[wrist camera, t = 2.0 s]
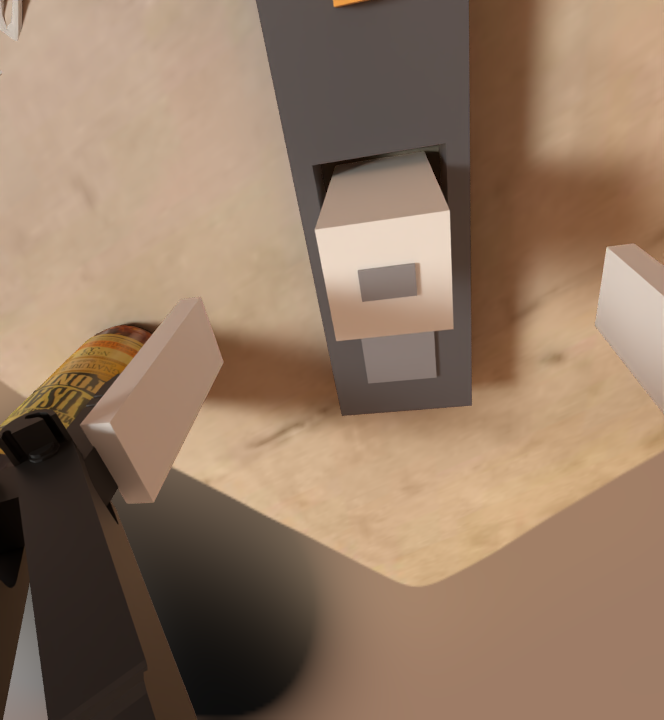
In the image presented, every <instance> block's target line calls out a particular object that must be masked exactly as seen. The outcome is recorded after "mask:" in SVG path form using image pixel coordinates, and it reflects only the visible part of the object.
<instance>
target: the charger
mask: <svg viewBox="0 0 664 720" xmlns="http://www.w3.org/2000/svg"><path fill="white" fill-rule="evenodd" d="M315 234H316V239H317V244H318V249H319V255H320V260H321V265H322V270H323V275H324V280H325V286H326V291H327V296H328V301H329V306H330V311H331V317H332V322H333V327H334V332H335V337H336V341H343V340H353V339H363V338H372V337H382V336H391V335H401V334H411V333H420V332H430V331H439V330H449V329H454V328H453V297H452V265H451V233H450V210H449V207H448V205H447V203H446V201H445V198H444V196H443V194H442V191H441V189H440V187H439V184H438V182H437V180H436V177H435V175H434V173H433V171H432V168H431V166H430V164H429V161H428V159H427V157H426V154H425V152H424V151H420V152H414V153H408V154H402V155H396V156H390V157H384V158H378V159H372V160H366V161H359V162H353V163H347V164H341V165H336V166H335V169H334V172H333V175H332V178H331V181H330V184H329V187H328V190H327V193H326V197H325V200H324V203H323V206H322V209H321V212H320V215H319V218H318V221H317V224H316V227H315Z"/></svg>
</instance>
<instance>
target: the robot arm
mask: <svg viewBox="0 0 664 720" xmlns="http://www.w3.org/2000/svg"><path fill="white" fill-rule="evenodd" d="M595 327H596V328H597V329H598V331H599V332H600V333H601V334H602V336H603V337H604V338H605V340H606V341H607V342H608V343H609V345H610V346H611V347H612V349H613V350H614V351H615V352H616V354H617V355H618V356H619V357H620V359H621V360H622V361H623V363H624V364H625V365H626V366H627V368H628V369H629V370H630V372H631V373H632V374H633V375H634V377H635V378H636V379H637V381H638V382H639V383H640V384H641V386H642V387H643V388H644V390H645V391H646V392H647V393H648V395H649V396H650V397H651V399H652V400H653V401H654V402H655V404H656V405H657V406H658V408H659V409H660V410H661V411H662V413H663V414H664V266H663V265H662V264H661V263H659V262H658V261H657V260H656V259H654V258H653V257H652V256H650V255H649V254H648V253H646V252H645V251H644V250H642V249H641V248H640V247H638V246H637V245H636V244H634V243H632V244H624V245H616V246H608V247H607V248H606V255H605V261H604V268H603V274H602V281H601V288H600V294H599V301H598V308H597V314H596V321H595ZM223 363H224V361H223V359H222V356H221V353H220V350H219V347H218V344H217V341H216V339H215V336H214V333H213V330H212V327H211V324H210V321H209V319H208V316H207V313H206V310H205V307H204V304H203V301H202V299H201V297H194V298H186V299H180V300H179V302H178V303H177V304H176V305H175V307H174V308H173V309H172V310H171V312H170V313H169V314H168V315H167V317H166V318H165V319H164V320H163V322H162V323H161V324H160V325H159V327H158V328H157V329H156V330H155V332H154V333H153V334H152V335H151V337H150V338H149V339H148V340H147V342H146V343H145V344H144V345H143V347H142V348H141V349H140V350H139V352H138V353H137V354H136V355H135V357H134V358H133V359H132V360H131V362H130V363H129V364H128V365H127V367H126V368H125V369H124V370H123V372H122V373H121V374H117V375H115V376H114V377H113V378H111V379H110V380H109V381H107V382H106V383H104V384H103V385H102V386H101V388H100V389H99V390H98V391H97V392H96V394H95V395H94V398H91V400H90V401H89V402H88V403H87V405H86V407H85V408H83V409H82V411H81V412H80V413H79V414H78V415H77V417H76V418H75V419H74V420H73V421H72V423H71V424H70V425H69V426H68V427H67V429H66V428H65V426H64V425H63V423H62V422H61V420H60V418H59V417H58V415H57V414H56V413H55V411H54V410H52V409H40V410H34V411H32V412H29V413H26V414H23V415H22V416H20V417H18V418H16V419H14V420H12V421H11V422H10V423H8V424H7V425H6V426H4V427H3V428H2V430H1V431H0V448H1V449H2V450H3V452H4V453H5V454H6V456H7V457H8V458H9V460H10V461H11V462H12V464H13V465H14V466H11V467H8V468H4V469H1V470H0V720H3V715H4V711H5V706H6V701H7V696H8V691H9V686H10V679H11V675H12V670H13V665H14V660H15V655H16V650H17V644H18V639H19V634H20V629H21V624H22V619H23V614H24V609H25V603H26V598H27V593H28V588H29V583H30V587H31V594H32V602H33V610H34V617H35V625H36V632H37V640H38V647H39V655H40V661H41V669H42V677H43V685H44V692H45V700H46V708H47V715H48V720H197V717H196V715H195V712H194V709H193V707H192V704H191V702H190V699H189V696H188V694H187V691H186V689H185V686H184V683H183V681H182V678H181V676H180V673H179V670H178V668H177V666H176V663H175V660H174V658H173V655H172V652H171V650H170V647H169V645H168V642H167V639H166V637H165V635H164V632H163V629H162V627H161V624H160V622H159V619H158V616H157V614H156V611H155V608H154V606H153V604H152V601H151V598H150V596H149V593H148V590H147V588H146V585H145V583H144V580H143V578H142V575H141V572H140V570H139V567H138V565H137V562H136V559H135V557H134V554H133V552H132V549H131V547H130V544H129V541H128V539H127V536H126V534H125V531H124V528H123V526H122V523H121V521H120V518H119V515H118V513H117V510H116V508H115V507H114V505H113V503H112V502H111V499H112V497H113V495H114V494H115V492H116V490H117V489H118V490H119V491H120V493H121V494H122V496H123V498H124V499H125V501H126V503H127V504H131V503H152V502H154V501H155V499H156V497H157V495H158V493H159V491H160V489H161V487H162V485H163V483H164V481H165V479H166V477H167V475H168V472H169V471H170V469H171V467H172V465H173V463H174V461H175V459H176V457H177V455H178V453H179V451H180V449H181V447H182V445H183V443H184V441H185V439H186V437H187V435H188V433H189V431H190V429H191V427H192V425H193V423H194V421H195V419H196V417H197V415H198V413H199V411H200V409H201V407H202V405H203V403H204V401H205V399H206V397H207V395H208V393H209V391H210V389H211V387H212V385H213V383H214V381H215V379H216V377H217V375H218V373H219V371H220V369H221V367H222V365H223Z"/></svg>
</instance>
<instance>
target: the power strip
mask: <svg viewBox="0 0 664 720" xmlns="http://www.w3.org/2000/svg"><path fill="white" fill-rule="evenodd" d="M256 3H257V8H258V13H259V17H260V22H261V27H262V32H263V37H264V42H265V46H266V51H267V56H268V61H269V66H270V71H271V75H272V80H273V85H274V90H275V95H276V100H277V104H278V109H279V114H280V119H281V124H282V129H283V133H284V138H285V143H286V148H287V153H288V158H289V162H290V167H291V172H292V177H293V182H294V187H295V191H296V196H297V201H298V206H299V211H300V216H301V220H302V225H303V230H304V235H305V240H306V245H307V249H308V254H309V259H310V264H311V269H312V274H313V278H314V283H315V288H316V293H317V298H318V303H319V307H320V312H321V317H322V322H323V327H324V332H325V336H326V341H327V346H328V351H329V356H330V361H331V365H332V370H333V375H334V380H335V385H336V390H337V394H338V399H339V404H340V409H341V414H342V416H346V415H358V414H371V413H384V412H396V411H409V410H422V409H434V408H447V407H460V406H472V368H471V235H470V101H469V0H256ZM438 144H439V154H440V178H441V191H442V194H443V196H444V198H445V201H446V203H447V205H448V207H449V210H450V233H451V265H452V297H453V328H454V329H449V330H439V331H430V332H420V333H411V334H401V335H391V336H382V337H372V338H363V339H353V340H343V341H336V337H335V332H334V327H333V322H332V317H331V311H330V306H329V301H328V296H327V291H326V286H325V280H324V275H323V270H322V265H321V260H320V255H319V249H318V244H317V239H316V234H315V227H316V224H317V221H318V218H319V215H320V212H321V209H322V206H323V203H324V200H325V197H326V192H325V186H324V181H323V175H322V169H321V164H324V163H330V162H336V161H342V160H348V159H354V158H360V157H366V156H372V155H378V154H384V153H390V152H396V151H402V150H408V149H414V148H420V147H426V146H432V145H438Z"/></svg>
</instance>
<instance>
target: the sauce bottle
mask: <svg viewBox="0 0 664 720" xmlns="http://www.w3.org/2000/svg"><path fill="white" fill-rule="evenodd" d="M151 335H152V334H151V333H150V332H148V331H146V330H144V329H141V328H137V327H135V326H128V325H120V326H114V327H111V328H109V329H106V330H104V331H102V332H100V333H98V334H96V335H95V336H94V337H92V338H90V339H89V340H87V341H86V342H85V343H84V344H83V345H82V346H81V347H80V348H79V349H78V350H77V351H76V352H75V353H74V354H72V355H71V356H70V357H69V358H68V359H67V360H66V361H65V362H64V363H63V364H62V365H61V366H60V367H59V368H58V369H57V370H56V371H55V372H54V373H53V374H52V375H51V376H50V377H49V378H48V379H47V380H46V381H45V382H44V383H43V384H42V385H41V386H40V387H39V388H37V389H36V390H35V391H34V392H33V394H32V395H31V396H29V397H28V398H27V399H26V400H25V401H24V402H23V403H22V404H21V405H20V406H19V407H18V408H17V409H16V410H15V411H14V412H13V413H12V414H11V415H10V416H9V417H8V418H7V419H6V420H5V421H4V422H3V423H2V424H1V425H0V431H1V430H2V428H3V427H4V426H6V425H7V424H8V423H10V422H11V421H12V420H14V419H16V418H18V417H20V416H22V415H23V414H26V413H29V412H32V411H34V410H40V409H52V410H54V411H55V413H56V414H57V415H58V417H59V418H60V420H61V422H62V423H63V425H64V426H65V428H66V429H67V427H68V426H69V425H70V424H71V423H72V421H73V420H74V419H75V418H76V417H77V415H78V414H79V413H80V412H81V411H82V409H83V408H85V407H86V405H87V403H88V402H89V401H90V400H91V398H94V395H95V394H96V392H97V391H98V390H99V389H100V388H101V386H102V385H103V384H104V383H106V382H107V381H109V380H110V379H111V378H113V377H114V376H115V375H117V374H121V373H122V372H123V370H124V369H125V368H126V367H127V365H128V364H129V363H130V362H131V360H132V359H133V358H134V357H135V355H136V354H137V353H138V352H139V350H140V349H141V348H142V347H143V345H144V344H145V343H146V342H147V340H148V339H149V338H150V337H151ZM11 466H14V465H13V464H12V462H11V461H10V460H9V458H8V457H7V456H6V454H5V453H4V452H3V450H2V449H1V448H0V470H1V469H4V468H8V467H11Z"/></svg>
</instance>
